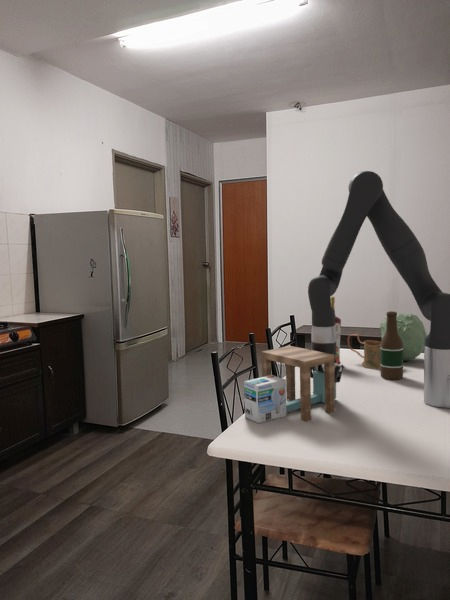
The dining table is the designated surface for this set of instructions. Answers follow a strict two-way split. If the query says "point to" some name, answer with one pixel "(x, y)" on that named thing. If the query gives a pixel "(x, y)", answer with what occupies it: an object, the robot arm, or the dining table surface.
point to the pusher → (317, 392)
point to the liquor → (337, 332)
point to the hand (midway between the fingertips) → (324, 393)
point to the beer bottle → (391, 350)
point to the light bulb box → (265, 398)
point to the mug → (369, 353)
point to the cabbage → (409, 334)
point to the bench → (303, 374)
